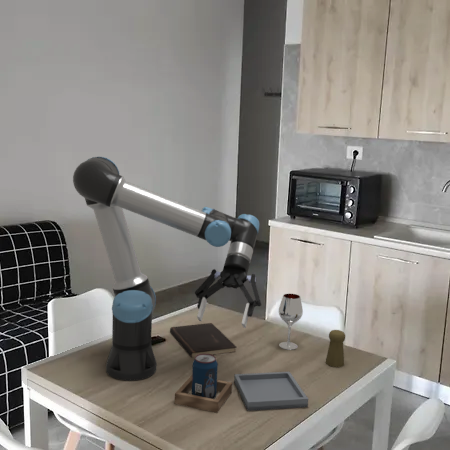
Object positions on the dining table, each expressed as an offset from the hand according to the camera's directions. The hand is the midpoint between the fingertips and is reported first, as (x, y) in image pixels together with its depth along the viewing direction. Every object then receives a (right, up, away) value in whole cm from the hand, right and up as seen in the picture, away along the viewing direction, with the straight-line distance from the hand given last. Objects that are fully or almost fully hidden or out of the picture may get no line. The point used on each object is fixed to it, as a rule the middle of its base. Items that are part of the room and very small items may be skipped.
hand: (221, 322), depth 171 cm
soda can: (-5, -20, -6) cm, 22 cm away
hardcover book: (-7, -13, +33) cm, 36 cm away
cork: (+37, -17, +20) cm, 45 cm away
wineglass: (+23, -14, +32) cm, 42 cm away
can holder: (-5, -20, -6) cm, 21 cm away
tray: (+14, -20, -3) cm, 24 cm away
